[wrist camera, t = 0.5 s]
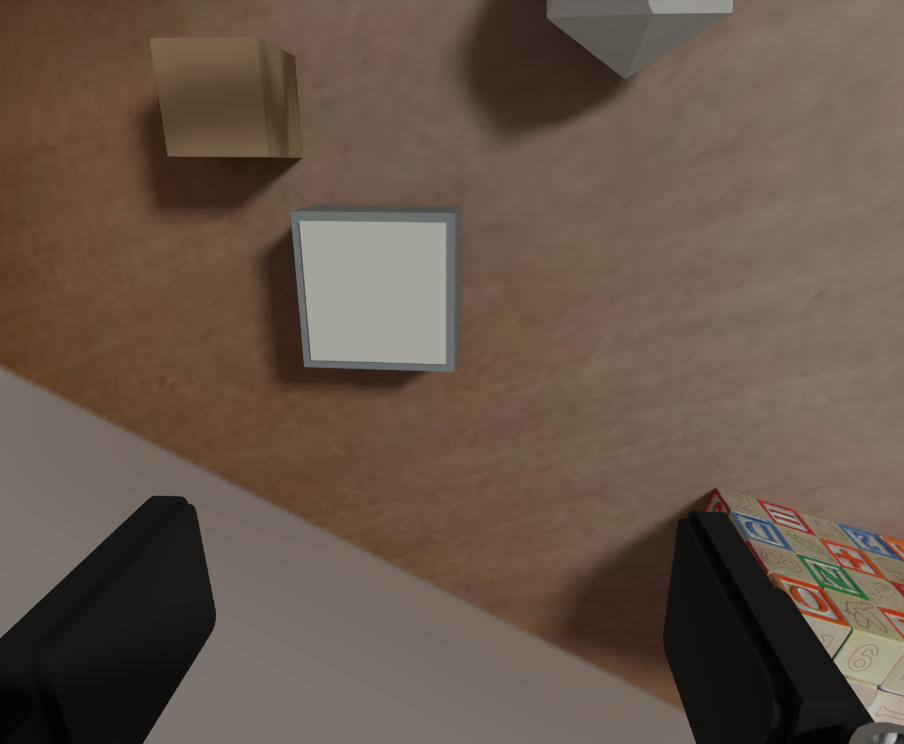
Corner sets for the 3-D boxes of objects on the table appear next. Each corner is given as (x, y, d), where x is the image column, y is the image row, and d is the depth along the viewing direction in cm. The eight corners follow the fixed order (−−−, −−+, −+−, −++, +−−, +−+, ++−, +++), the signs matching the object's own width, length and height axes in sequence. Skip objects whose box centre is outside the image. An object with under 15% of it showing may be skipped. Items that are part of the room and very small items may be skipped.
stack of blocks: (998, 566, 41) (1194, 725, 29) (948, 631, 43) (1112, 802, 31) (713, 485, 40) (797, 613, 29) (677, 554, 43) (743, 700, 31)
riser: (317, 204, 36) (289, 211, 31) (461, 206, 35) (455, 213, 30) (327, 342, 39) (303, 367, 34) (459, 346, 38) (454, 372, 33)
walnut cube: (203, 57, 33) (149, 37, 28) (295, 56, 33) (257, 36, 28) (216, 157, 35) (167, 156, 30) (303, 157, 35) (268, 156, 30)
